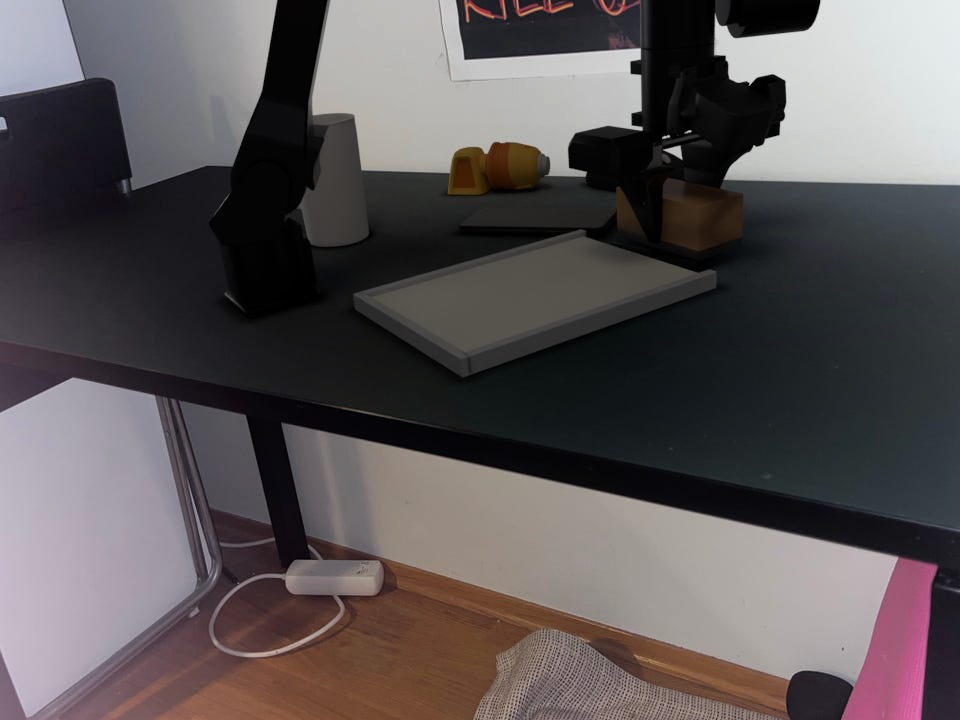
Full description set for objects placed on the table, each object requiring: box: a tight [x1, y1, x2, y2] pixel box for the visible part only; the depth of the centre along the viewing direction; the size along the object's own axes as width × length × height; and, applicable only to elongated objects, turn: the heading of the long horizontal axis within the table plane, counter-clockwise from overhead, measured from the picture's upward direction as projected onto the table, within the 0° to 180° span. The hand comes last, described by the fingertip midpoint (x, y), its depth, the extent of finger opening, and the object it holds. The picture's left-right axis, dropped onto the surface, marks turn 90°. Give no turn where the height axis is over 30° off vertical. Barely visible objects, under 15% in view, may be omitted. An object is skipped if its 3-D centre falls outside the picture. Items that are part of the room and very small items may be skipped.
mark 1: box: [610, 241, 651, 258], centre depth 76 cm, size 1×4×1 cm
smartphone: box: [457, 206, 617, 237], centre depth 87 cm, size 7×1×15 cm
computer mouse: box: [584, 150, 686, 191], centre depth 98 cm, size 8×12×4 cm, turn 50°
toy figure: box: [447, 141, 551, 196], centre depth 101 cm, size 5×6×12 cm
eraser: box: [615, 178, 744, 262], centre depth 74 cm, size 5×10×4 cm, turn 32°
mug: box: [295, 112, 370, 248], centre depth 88 cm, size 10×7×12 cm, turn 59°
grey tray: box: [352, 230, 718, 379], centre depth 69 cm, size 23×17×1 cm
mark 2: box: [650, 253, 699, 268], centre depth 74 cm, size 1×4×1 cm, turn 49°
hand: (677, 235), depth 75 cm, fingers closed on eraser, 5 cm apart
